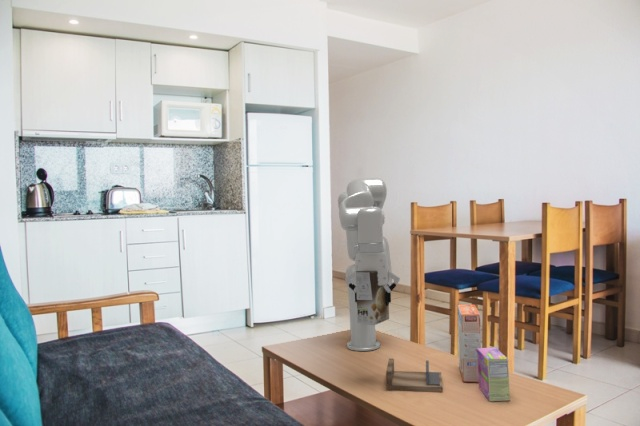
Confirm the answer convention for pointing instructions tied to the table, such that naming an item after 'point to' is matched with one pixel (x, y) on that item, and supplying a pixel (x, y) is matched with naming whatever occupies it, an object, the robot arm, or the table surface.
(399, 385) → the shelf
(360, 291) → the coffee box
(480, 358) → the box
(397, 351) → the table surface
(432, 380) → the bookend
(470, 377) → the cracker box
